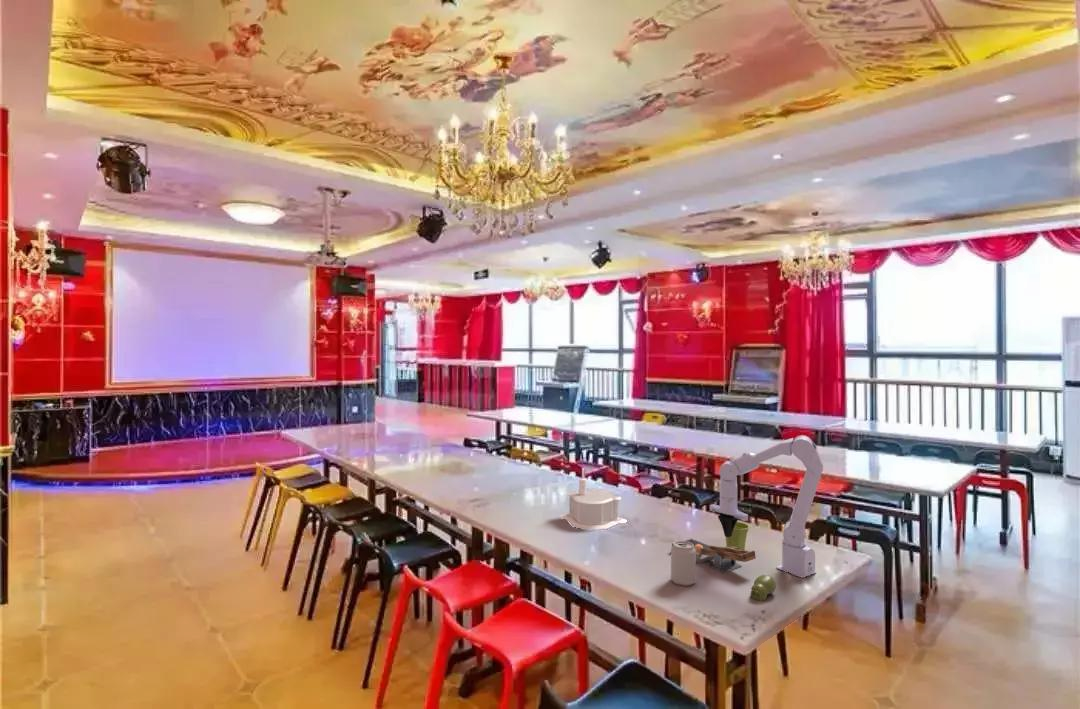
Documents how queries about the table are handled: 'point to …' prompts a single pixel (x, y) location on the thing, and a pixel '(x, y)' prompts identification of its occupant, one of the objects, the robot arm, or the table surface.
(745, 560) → the plank
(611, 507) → the birthday cake
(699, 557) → the tray
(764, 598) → the pear
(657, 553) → the table surface
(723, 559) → the fulcrum
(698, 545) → the ball
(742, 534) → the plant pot
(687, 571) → the can
